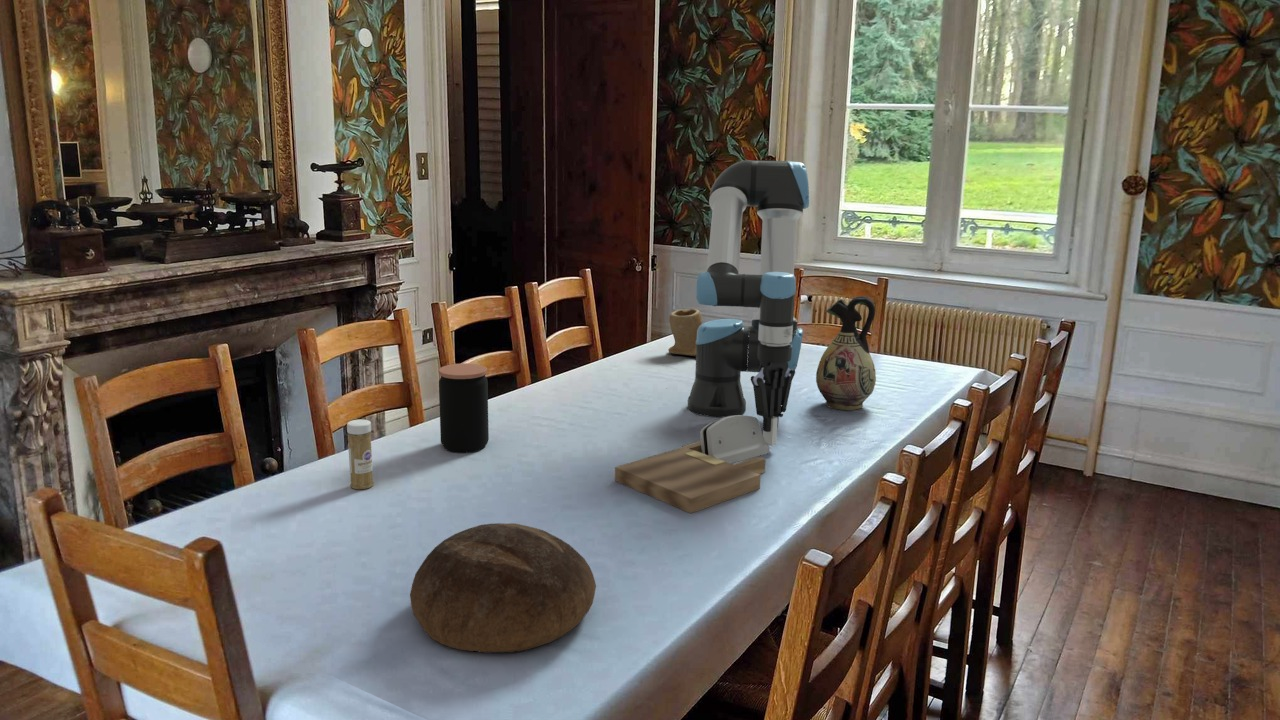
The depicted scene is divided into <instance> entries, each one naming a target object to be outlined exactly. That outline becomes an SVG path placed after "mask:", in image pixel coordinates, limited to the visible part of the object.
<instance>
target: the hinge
mask: <svg viewBox="0 0 1280 720" xmlns="http://www.w3.org/2000/svg"><path fill="white" fill-rule="evenodd" d="M699 431H700V432H699V438H700V441H701V450H702V453H703V454H706V455H708V456H711V457H714V458H717V459H720V460H722V461H725V462H727V463H730V464H736V463H740V462H743V461H746V460H749V459H752V458H755V457H758V456H759V457H761V456H764V455H767V453H768V454H771V451H770V450H771V449H770V445H768V444H767V443H766V442H765V441H764V438H763V430H762V429H761V425H760V421H759V419H758V418H757V417H755V416H751V415H742V414H740V415H734V416H727V417H719V418H718V419H716V420H713V421H711V422H709V423H708V424H706V425H705V426H704V427H703V428H701V429H700V430H699ZM763 454H764V455H763ZM760 455H761V456H760Z"/></svg>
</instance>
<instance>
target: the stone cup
mask: <svg viewBox="0 0 1280 720" xmlns="http://www.w3.org/2000/svg"><path fill="white" fill-rule="evenodd" d="M668 319H669V320H668V321H669V326H670V331H671V334H672V336H673V339H674V344H673V345H672V346H670V347H669V348H668V352H669V353H670V354H673V355H679V356H680V355H681V356H689V357H696V348H697V344H696V340H697V330H698V328H699V326H700V325H701V324H703V315H702V313H701V311H700V310H699V309H697V308H689V309H685V308H681V309H677V310H674V311H673V312H670V314H669V318H668Z"/></svg>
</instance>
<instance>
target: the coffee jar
mask: <svg viewBox="0 0 1280 720" xmlns="http://www.w3.org/2000/svg"><path fill="white" fill-rule="evenodd" d="M486 374H488V368H487V367H486V366H484V365H481V364H478V363H477V364H476V363H453V364H448V365H444V366H441V367H439V369H438V375H439V376H440V378H439V380H438V393H439V394H438V398H439V402H438V403H439V404H438V405H439V428H440V443H441V445H442V447H443V448H444V450H446V451H448V452H451V453H459V454H460V453H461V454H462V453H463V454H465V453H466V452H468V453H474V452H478V451H481V450H483V449H484V448H485V447H486V446H487V444H488V442H489V438H490V437H489V435H490V433H489V395H488V394H489V393H488V391H489V389H488V388H489V387H488V381H489V379H488V378H487V377H486ZM466 454H467V453H466Z"/></svg>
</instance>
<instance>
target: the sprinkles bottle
mask: <svg viewBox="0 0 1280 720" xmlns="http://www.w3.org/2000/svg"><path fill="white" fill-rule="evenodd" d="M346 431H347V435H348V462H349V463H348V464H349V473H350V488H352V489H354V490H366V489H370V488H372V487H373V486H374V483H375V482H374V479H373V477H374V476H373V475H374V474H373V469H374V467H373V466H374V465H373V453H372V438H371V436H372V435H371V433H372V432H371V431H372V423H371V421H370V420H368V419H354V420H350V421H348V422H347V424H346Z"/></svg>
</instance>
